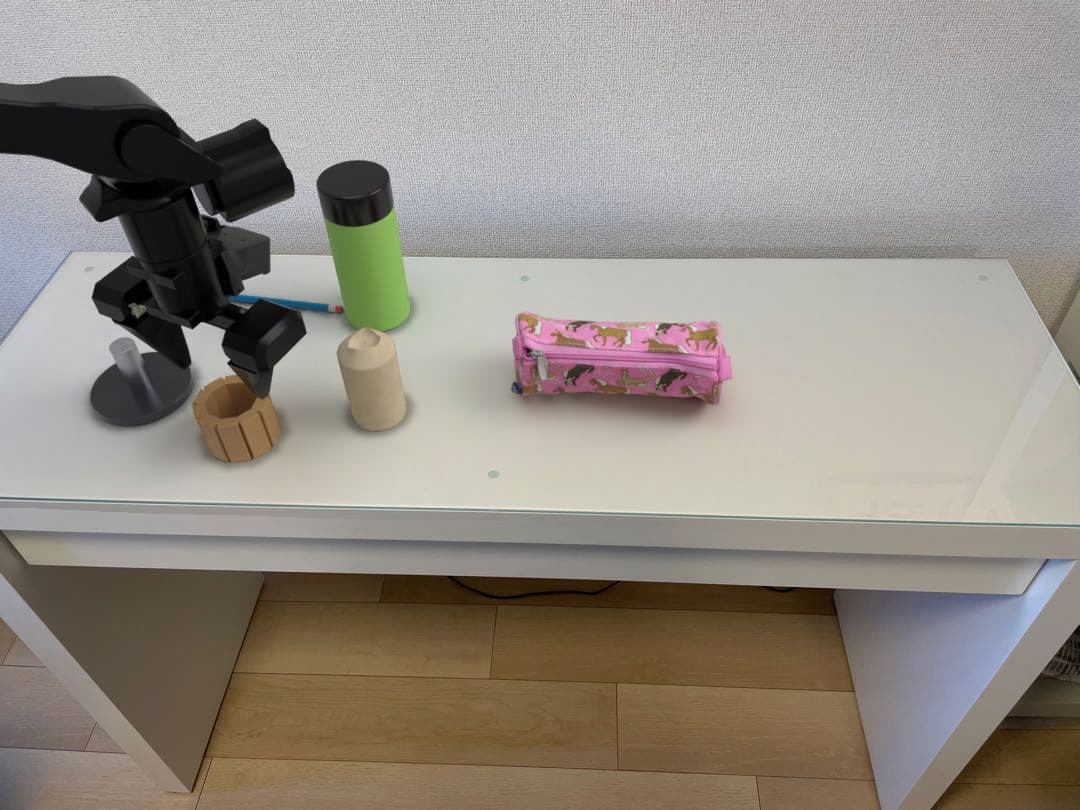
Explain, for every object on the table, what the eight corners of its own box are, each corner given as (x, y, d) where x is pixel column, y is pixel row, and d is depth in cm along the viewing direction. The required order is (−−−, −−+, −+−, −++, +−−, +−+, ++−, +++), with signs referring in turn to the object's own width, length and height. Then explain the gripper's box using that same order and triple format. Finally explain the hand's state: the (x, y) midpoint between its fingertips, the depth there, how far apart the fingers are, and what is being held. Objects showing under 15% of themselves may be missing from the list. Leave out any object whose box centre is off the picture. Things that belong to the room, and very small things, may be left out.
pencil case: (509, 416, 86) (505, 351, 79) (519, 353, 92) (516, 288, 86) (724, 428, 84) (738, 363, 78) (719, 363, 91) (731, 298, 84)
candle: (359, 390, 89) (342, 317, 81) (411, 394, 88) (398, 320, 81) (346, 430, 85) (326, 356, 78) (400, 433, 84) (386, 359, 77)
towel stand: (99, 439, 84) (73, 393, 80) (88, 376, 91) (63, 330, 86) (202, 406, 87) (182, 360, 83) (184, 347, 94) (164, 301, 89)
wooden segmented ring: (216, 472, 81) (200, 437, 78) (201, 422, 86) (186, 387, 82) (288, 447, 83) (276, 412, 80) (270, 400, 88) (258, 365, 84)
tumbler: (333, 311, 98) (299, 177, 85) (387, 282, 101) (361, 149, 88) (371, 342, 94) (341, 207, 81) (425, 311, 97) (404, 177, 85)
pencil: (341, 314, 97) (340, 309, 97) (201, 298, 99) (200, 293, 99) (343, 309, 98) (342, 304, 97) (204, 294, 100) (203, 289, 99)
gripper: (326, 217, 70) (358, 356, 81) (153, 167, 76) (205, 303, 87) (237, 295, 63) (285, 435, 74) (54, 233, 69) (125, 372, 80)
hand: (225, 381), depth 79 cm, fingers open, 9 cm apart
